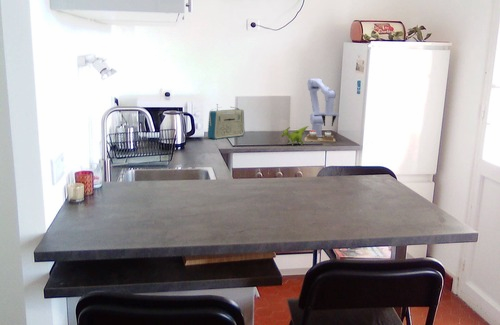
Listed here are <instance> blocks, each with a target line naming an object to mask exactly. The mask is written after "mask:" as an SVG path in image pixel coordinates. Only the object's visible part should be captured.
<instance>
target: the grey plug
mask: <svg viewBox="0 0 500 325" xmlns="http://www.w3.org/2000/svg"><path fill="white" fill-rule="evenodd" d="M324 135H325V137H331V135H332V131H331V130H325V131H324Z"/></svg>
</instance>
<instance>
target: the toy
mask: <svg viewBox="0 0 500 325" xmlns="http://www.w3.org/2000/svg"><path fill="white" fill-rule="evenodd" d="M308 127H309V125H307V126H304V127H302V128H300V129H298V130H294V131H293V132H292V133H290V134H289V131H288V130H289V129H291V127H287V128H286V129H285V130H284V131H283V132H282V134H281V135H280V136H281V137H282V138H283V137H284V136H285V137H286V138H287V139H288V142H287V144H290V143H292V144H291V146H294V144H295V142H296V144H299V143H301V144H300V146H303V145H304V143H305V142H304V140H302V139H303V135H304V132H305V131H306V130H307V129H308Z"/></svg>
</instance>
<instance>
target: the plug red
mask: <svg viewBox="0 0 500 325" xmlns="http://www.w3.org/2000/svg"><path fill="white" fill-rule="evenodd" d="M309 134H310V135H309V136H316V131H315V130H312V129H311V130H309Z"/></svg>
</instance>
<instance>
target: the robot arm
mask: <svg viewBox="0 0 500 325" xmlns="http://www.w3.org/2000/svg"><path fill="white" fill-rule="evenodd" d="M307 89H308V91H309V95H310V102H311V108H312V113H311V114H310V115H309V117H310V118H309V121H310V124H311V130H315V131H316V135H318V138H322V135H323V134H322V129H323V128H322V127H323V126H324V127H325V126H326V117H332V120H331V127H333V126H334V122H335V121H336V118H337V117H340V113H334V106H335V105H334V103H335V99H336V96H337V94H336V91H335V90H332V89H331V88H330V87H329V86H328V85H326V84H324V83H323V80H322V79H321V78H308V80H307ZM318 91H321V93H322V94H323V95H324V101H325V108H324V109H325V110H324V112H321V110H320V104H319V98H318Z"/></svg>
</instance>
